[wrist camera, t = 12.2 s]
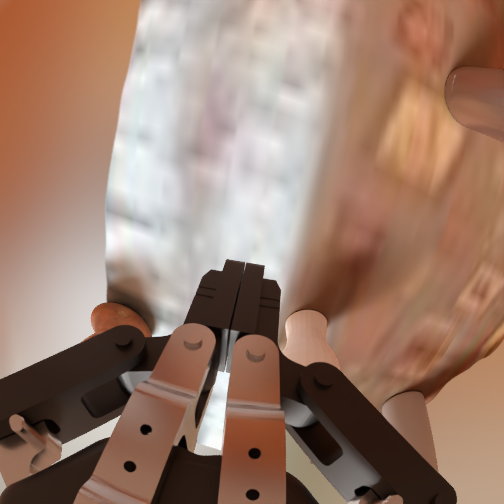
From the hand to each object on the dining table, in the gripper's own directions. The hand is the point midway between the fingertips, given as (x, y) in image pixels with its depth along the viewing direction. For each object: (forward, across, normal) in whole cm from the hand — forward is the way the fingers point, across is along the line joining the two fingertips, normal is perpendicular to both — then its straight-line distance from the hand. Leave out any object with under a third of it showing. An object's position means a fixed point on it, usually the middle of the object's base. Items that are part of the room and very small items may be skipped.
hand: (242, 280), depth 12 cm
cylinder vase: (+29, -47, +58) cm, 80 cm away
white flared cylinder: (+29, -11, +31) cm, 44 cm away
